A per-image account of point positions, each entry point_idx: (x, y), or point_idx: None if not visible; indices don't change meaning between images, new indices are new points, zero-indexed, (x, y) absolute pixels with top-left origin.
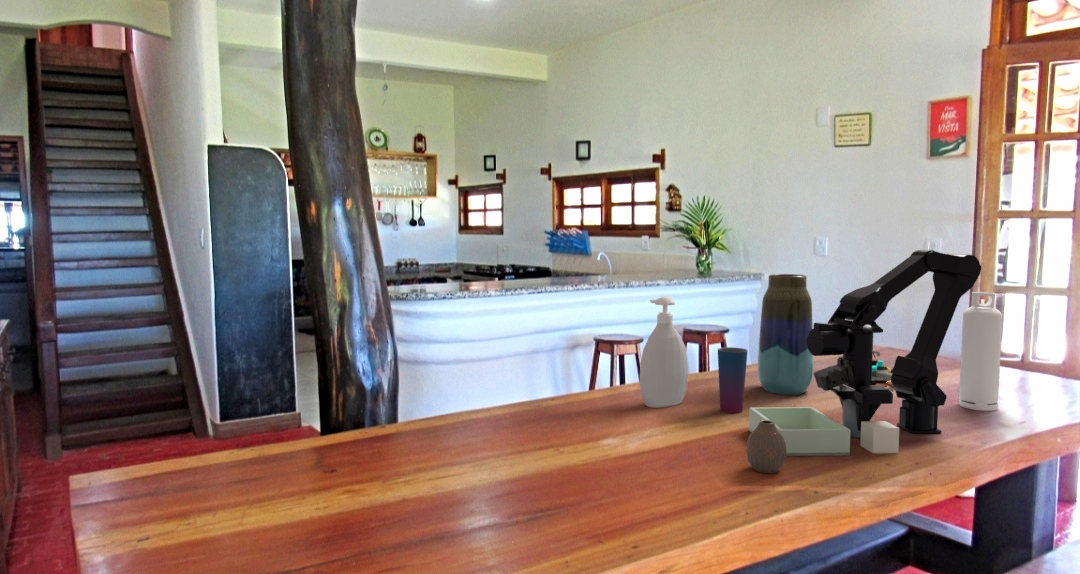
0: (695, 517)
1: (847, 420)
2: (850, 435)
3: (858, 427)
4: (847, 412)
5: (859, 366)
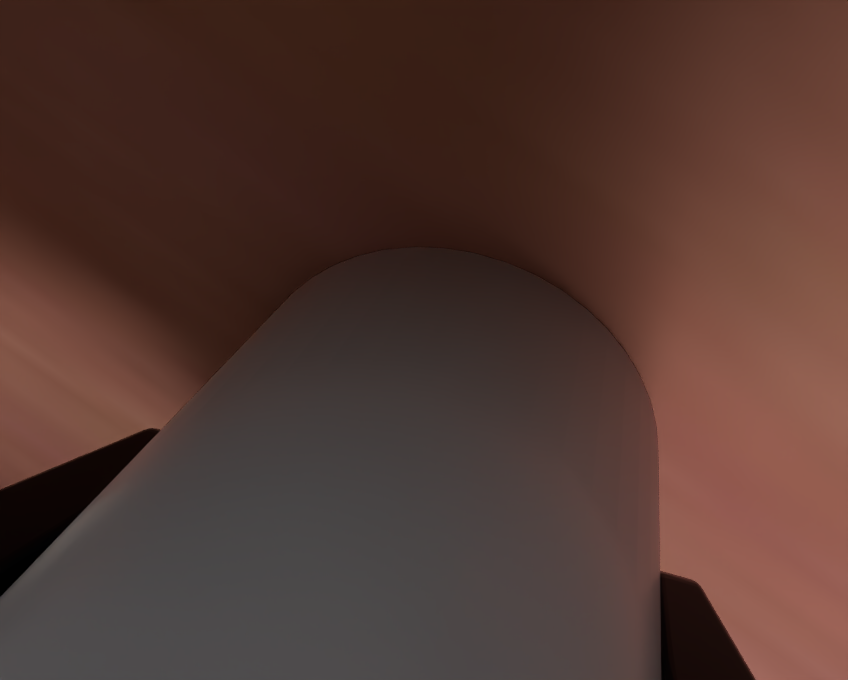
0: None
1: (210, 431)
2: (302, 291)
3: (111, 453)
4: (72, 626)
5: None
